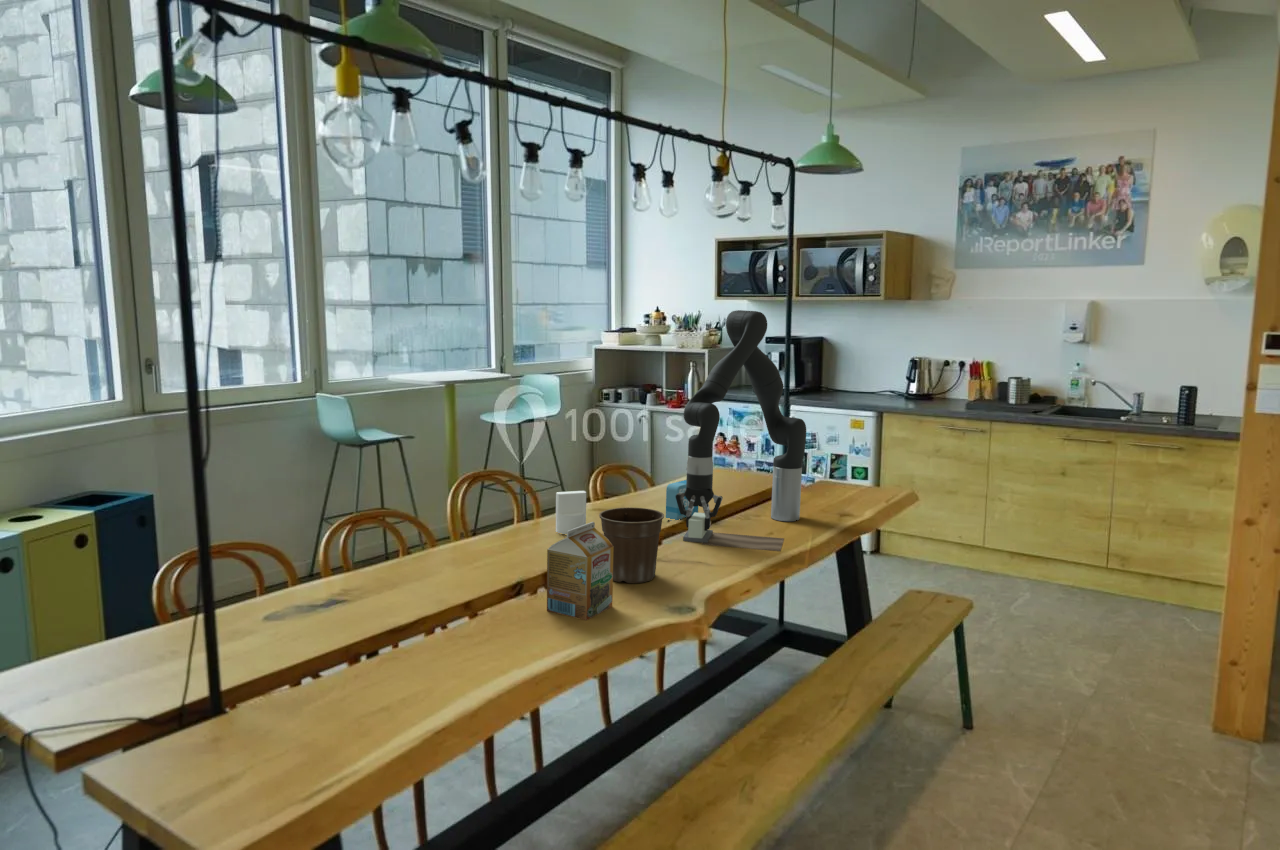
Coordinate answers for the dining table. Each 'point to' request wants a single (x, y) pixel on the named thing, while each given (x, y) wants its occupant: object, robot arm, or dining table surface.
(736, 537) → the walnut board
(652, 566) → the plant pot
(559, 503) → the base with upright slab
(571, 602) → the milk carton
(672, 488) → the data package
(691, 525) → the sanding block
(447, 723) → the dining table surface
